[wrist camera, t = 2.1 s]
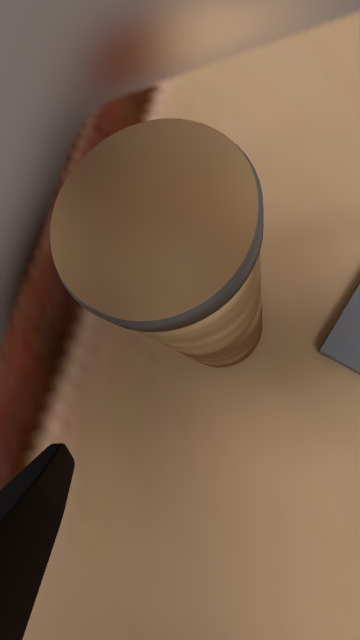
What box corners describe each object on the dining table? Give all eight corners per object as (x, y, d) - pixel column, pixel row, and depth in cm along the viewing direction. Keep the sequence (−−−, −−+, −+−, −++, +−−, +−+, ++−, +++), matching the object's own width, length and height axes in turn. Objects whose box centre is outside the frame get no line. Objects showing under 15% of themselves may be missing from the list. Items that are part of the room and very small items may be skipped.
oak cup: (233, 386, 19) (177, 370, 7) (161, 340, 21) (8, 258, 8) (280, 309, 19) (310, 157, 7) (205, 270, 21) (121, 90, 9)
